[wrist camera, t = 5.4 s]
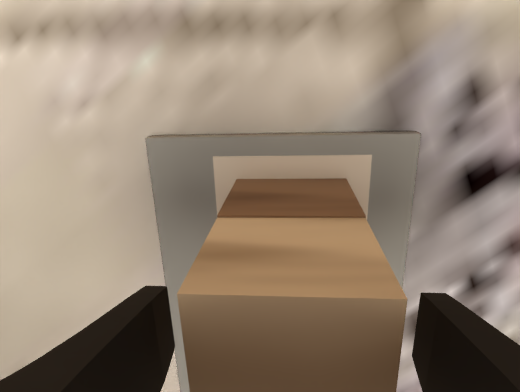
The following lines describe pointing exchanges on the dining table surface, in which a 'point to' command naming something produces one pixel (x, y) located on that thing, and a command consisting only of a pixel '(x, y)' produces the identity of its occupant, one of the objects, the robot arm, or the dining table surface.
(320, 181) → the walnut block
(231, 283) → the maple block
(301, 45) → the dining table surface
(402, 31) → the dining table surface
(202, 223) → the board
